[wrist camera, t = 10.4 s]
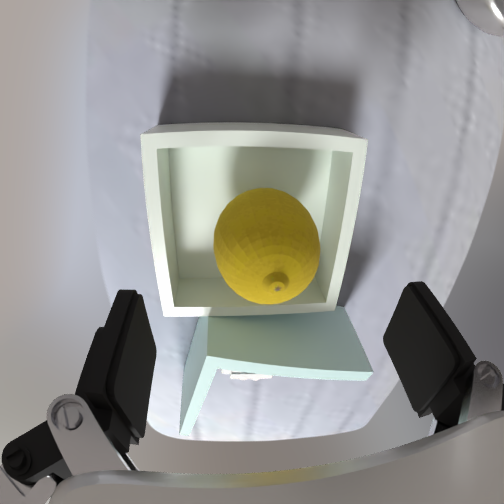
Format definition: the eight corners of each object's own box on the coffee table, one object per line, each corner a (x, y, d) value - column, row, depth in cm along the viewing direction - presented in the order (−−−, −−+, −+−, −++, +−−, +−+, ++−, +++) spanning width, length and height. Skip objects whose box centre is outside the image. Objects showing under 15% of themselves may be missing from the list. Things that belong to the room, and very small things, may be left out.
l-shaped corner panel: (183, 370, 28) (179, 434, 22) (209, 279, 23) (206, 355, 16) (291, 384, 31) (303, 442, 25) (343, 306, 26) (373, 372, 19)
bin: (157, 125, 17) (140, 134, 13) (341, 128, 18) (367, 139, 14) (171, 280, 22) (163, 316, 19) (319, 277, 24) (334, 310, 20)
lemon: (236, 261, 21) (242, 348, 14) (201, 192, 18) (186, 261, 11) (310, 231, 20) (350, 309, 14) (283, 158, 18) (322, 207, 11)
